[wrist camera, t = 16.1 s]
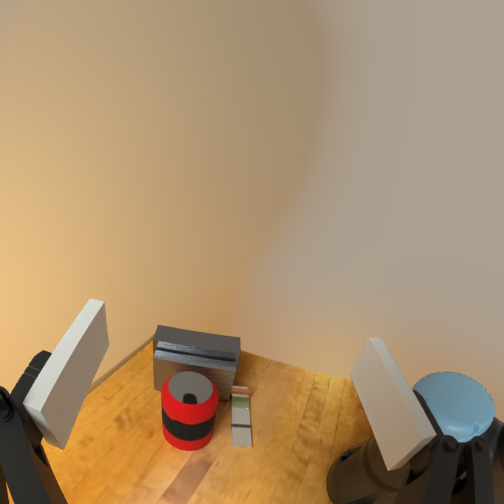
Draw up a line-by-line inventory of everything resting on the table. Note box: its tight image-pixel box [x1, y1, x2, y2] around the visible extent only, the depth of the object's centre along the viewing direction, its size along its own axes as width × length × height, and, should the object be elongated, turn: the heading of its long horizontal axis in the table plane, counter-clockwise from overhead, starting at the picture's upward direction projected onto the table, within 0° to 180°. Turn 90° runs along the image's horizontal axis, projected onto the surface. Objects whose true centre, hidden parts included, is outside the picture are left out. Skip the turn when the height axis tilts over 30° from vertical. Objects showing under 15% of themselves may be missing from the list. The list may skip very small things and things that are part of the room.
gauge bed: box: [153, 325, 252, 448], centre depth 41 cm, size 17×16×10 cm
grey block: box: [153, 350, 251, 400], centre depth 46 cm, size 17×7×8 cm, turn 93°
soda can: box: [161, 371, 219, 451], centre depth 35 cm, size 8×8×12 cm
